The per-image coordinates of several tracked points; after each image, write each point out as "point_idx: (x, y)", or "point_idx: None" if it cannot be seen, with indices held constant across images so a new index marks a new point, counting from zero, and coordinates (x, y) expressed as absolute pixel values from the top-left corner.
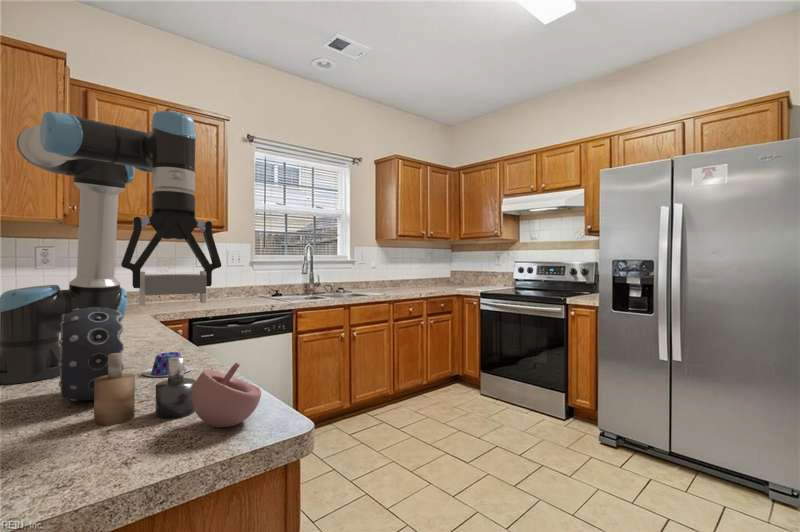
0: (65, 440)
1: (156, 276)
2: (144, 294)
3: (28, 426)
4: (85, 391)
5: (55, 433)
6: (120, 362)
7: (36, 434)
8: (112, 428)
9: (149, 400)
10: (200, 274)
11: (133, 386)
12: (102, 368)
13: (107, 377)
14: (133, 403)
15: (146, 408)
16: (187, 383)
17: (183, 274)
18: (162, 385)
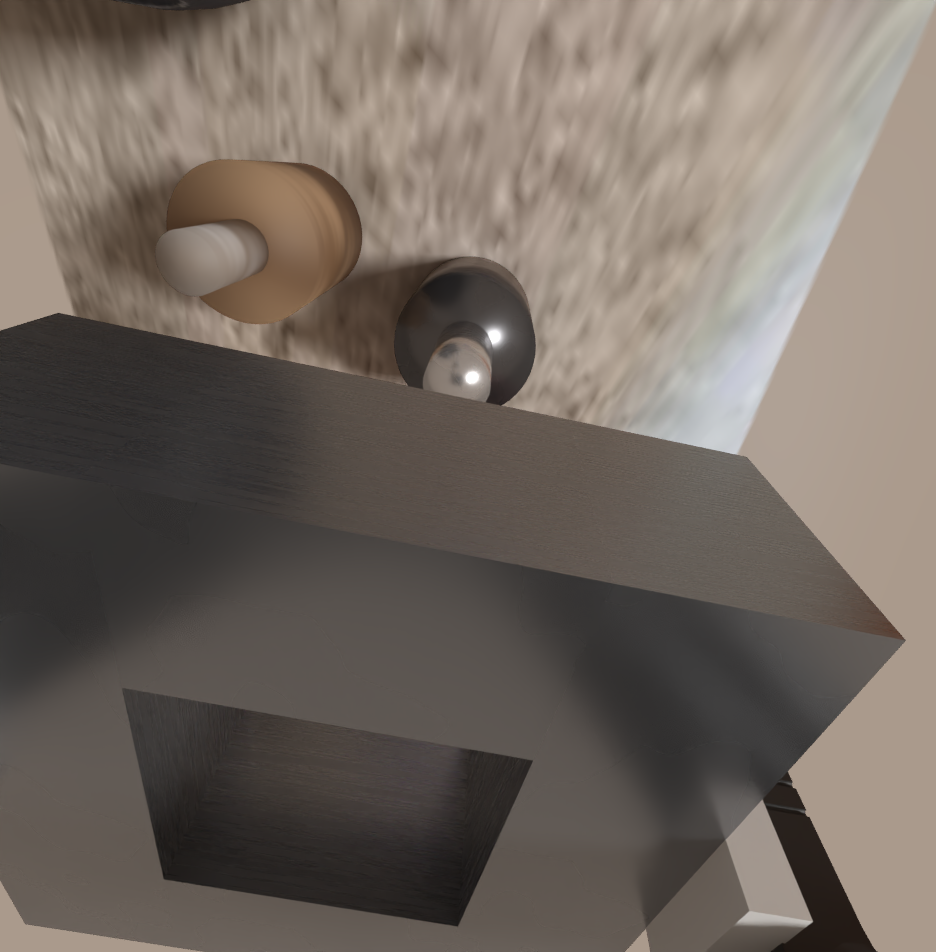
0: (189, 321)
1: (118, 932)
2: None
3: (52, 76)
4: None
5: (153, 236)
6: (232, 281)
7: (103, 200)
8: (295, 318)
9: (443, 69)
10: (701, 870)
11: (323, 285)
12: (174, 9)
13: (214, 220)
14: (342, 272)
15: (409, 187)
16: (494, 385)
17: (552, 696)
18: (416, 345)
